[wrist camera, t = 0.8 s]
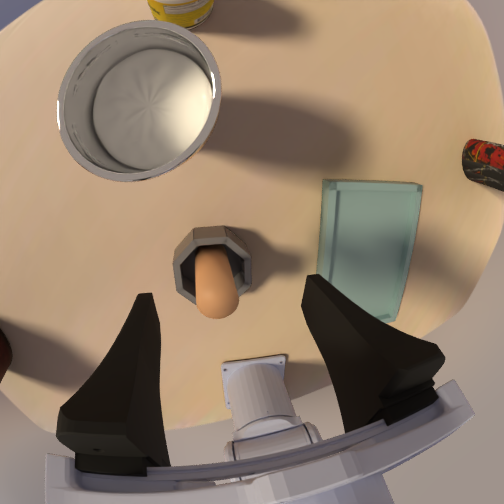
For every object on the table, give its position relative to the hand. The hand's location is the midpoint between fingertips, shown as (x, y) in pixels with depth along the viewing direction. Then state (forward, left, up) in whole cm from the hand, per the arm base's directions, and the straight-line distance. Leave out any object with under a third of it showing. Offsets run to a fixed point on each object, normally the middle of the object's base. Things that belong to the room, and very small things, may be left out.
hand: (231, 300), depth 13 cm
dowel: (-4, 0, -14) cm, 14 cm away
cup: (-5, 0, -15) cm, 15 cm away
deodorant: (+7, -35, -15) cm, 38 cm away
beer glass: (+9, +3, -15) cm, 18 cm away
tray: (-6, -17, -15) cm, 23 cm away
